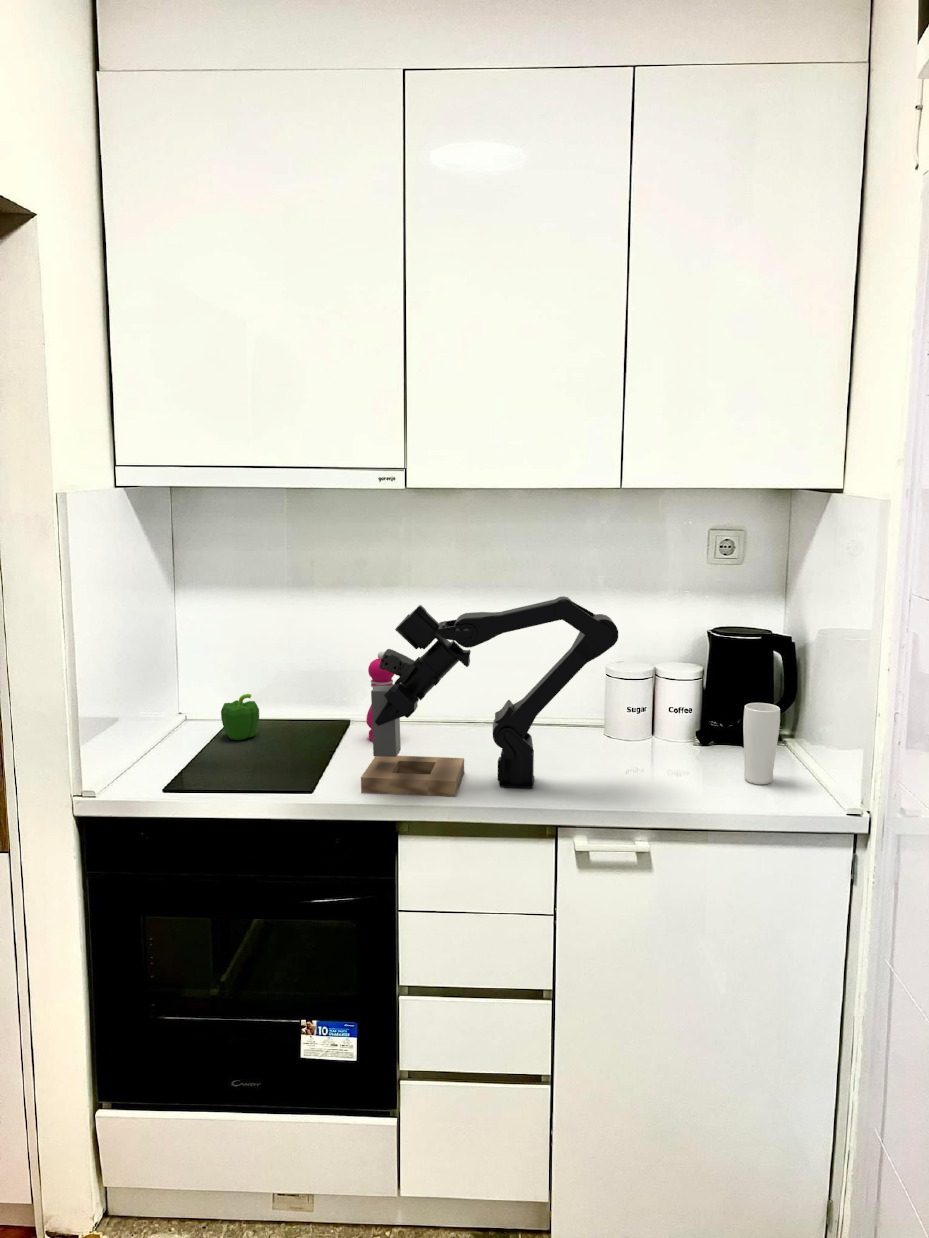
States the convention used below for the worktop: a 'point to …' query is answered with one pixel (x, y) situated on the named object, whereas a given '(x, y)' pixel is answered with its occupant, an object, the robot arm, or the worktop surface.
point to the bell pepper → (240, 718)
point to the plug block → (384, 726)
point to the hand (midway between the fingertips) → (379, 720)
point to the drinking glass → (760, 741)
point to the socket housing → (413, 775)
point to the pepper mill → (377, 684)
